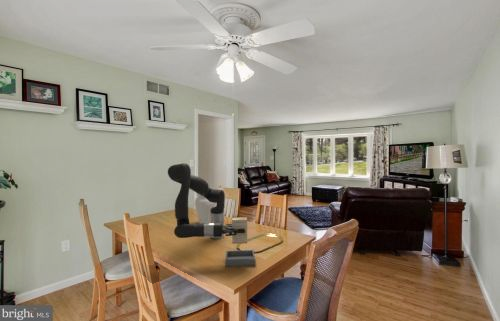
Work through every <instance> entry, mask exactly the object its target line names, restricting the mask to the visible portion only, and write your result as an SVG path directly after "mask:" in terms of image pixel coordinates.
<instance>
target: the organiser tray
mask: <svg viewBox="0 0 500 321" xmlns="http://www.w3.org/2000/svg"><path fill="white" fill-rule="evenodd" d="M254 251H255V250H254V249H240V250H239V249H237V250H226V251H225V268H228V267H248V266H249V267H250V266H252V267H255V266H256V256H255V253H254Z"/></svg>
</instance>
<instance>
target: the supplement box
mask: <svg viewBox="0 0 500 321" xmlns="http://www.w3.org/2000/svg"><path fill="white" fill-rule="evenodd" d="M231 224H232V228H234V229H245V233H238V234H237V235H233V236H231V239H232V241H231V243H232V244H233V245H237V244H239V243H244V244H248V242H247V239H248V218H247V216H246V217H245V216H244V217H243V216H242V217H232V219H231Z"/></svg>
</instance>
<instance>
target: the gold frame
mask: <svg viewBox="0 0 500 321" xmlns="http://www.w3.org/2000/svg"><path fill="white" fill-rule="evenodd" d="M264 237H273V238H277V239H279V240H280V241H279V242H277V243H274V244H273V245H271V246H270V245H269V246H268V247H265V248H263V249H261V250H256V251H255V250H254V254H255V253H260V252H263V251H265V250H268V249H271V248H272V247H275V246H277V245H279V244H281V243H282V242H283V237H282V236H281V235H278V234H275V233H261V234H258V235H255V236H253V237H250V238H247V243H249V242H251V241H253V240H257V239H260V238H264ZM241 244H242V245H244V244H245V243H239V244H236V248H237V250H241V248H240V246H241Z"/></svg>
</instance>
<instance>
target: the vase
mask: <svg viewBox="0 0 500 321" xmlns="http://www.w3.org/2000/svg"><path fill="white" fill-rule="evenodd" d="M196 195H197V197H196V198H195V200H194V206H195V211H196V214H197V217H198V221H199V223H210V221H211V208H213V207H214V203H213V202H210V201H208V200H207V199H206V198H205V197H204V196H202V195H200V194H198V193H196Z"/></svg>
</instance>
